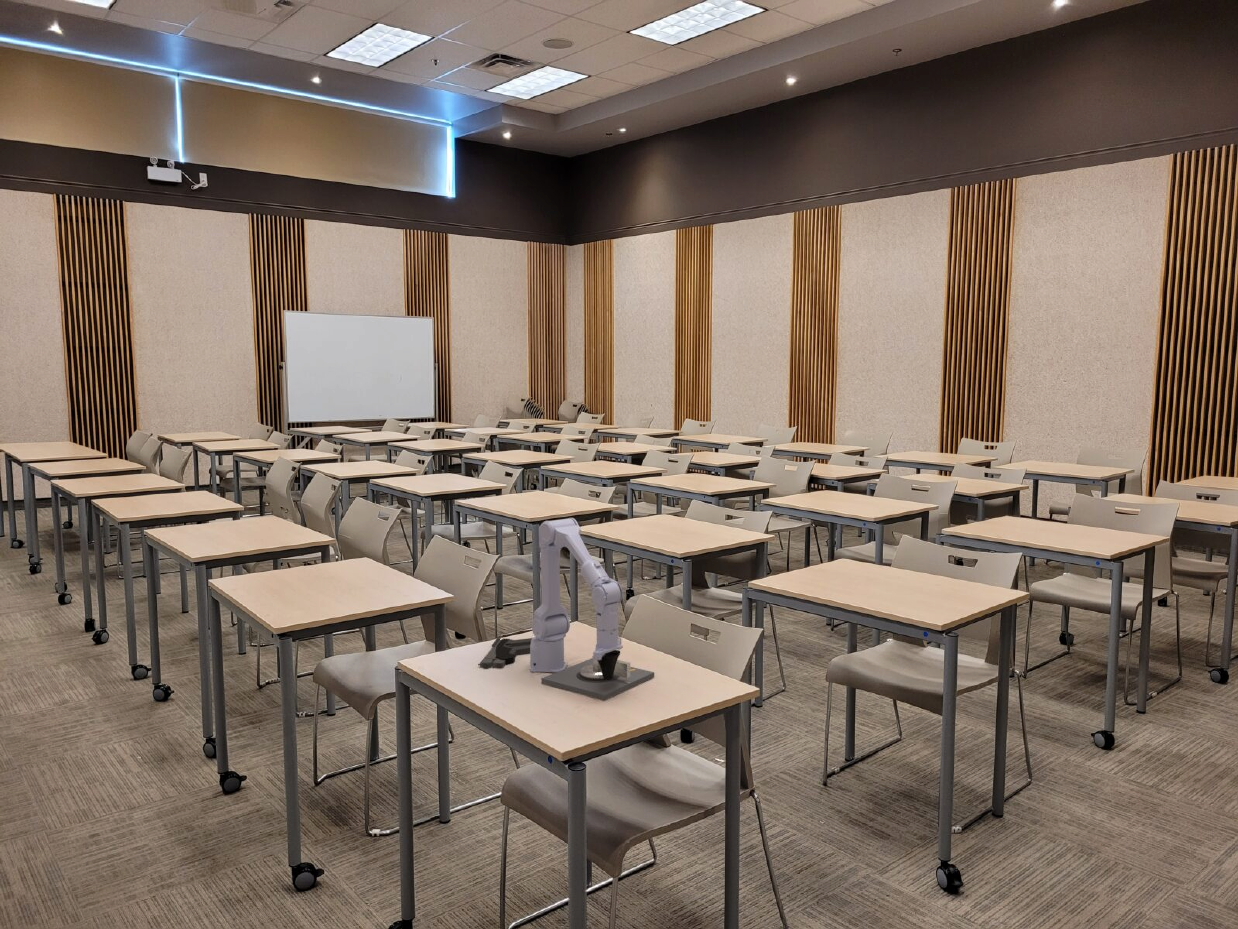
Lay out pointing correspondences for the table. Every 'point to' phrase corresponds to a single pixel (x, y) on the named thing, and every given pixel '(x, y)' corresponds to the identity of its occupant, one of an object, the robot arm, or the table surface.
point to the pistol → (505, 652)
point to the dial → (596, 674)
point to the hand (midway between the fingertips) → (608, 678)
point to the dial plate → (595, 681)
